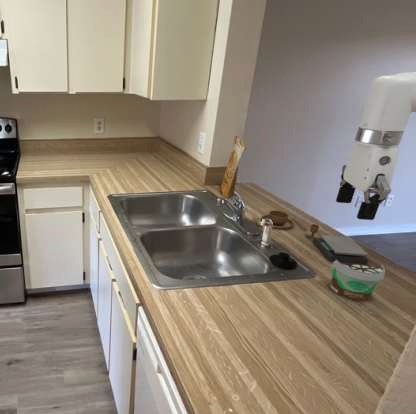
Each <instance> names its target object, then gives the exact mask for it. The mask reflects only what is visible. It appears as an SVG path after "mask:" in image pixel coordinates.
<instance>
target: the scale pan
mask: <svg viewBox="0 0 416 414" xmlns="http://www.w3.org/2000/svg"><path fill="white" fill-rule="evenodd" d="M319 238H321V239H322V240H323V241H324V242H325V243H326V244H327V245H328V246H329V247H330V248H331V250H332V251H333V252H334V253H335V254H343V255H355V256H366V257H367V258H368V257H369V253H368V252H367V251H365V249H363V248H362V247H361V246H360V245H359V244H358V243H357V242H356V241H355V240H354V239H352V238H351V237H350V236H341V235H340V236H339V235H328V234H327V235H326V234H320V235H319Z"/></svg>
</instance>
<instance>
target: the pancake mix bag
mask: <svg viewBox="0 0 416 414" xmlns="http://www.w3.org/2000/svg"><path fill="white" fill-rule="evenodd" d="M246 149H247V144H246V142H245V141H243V139H242V138H241V137H239V136H238V135H235V136H234V142H233V146H232V150H231V153H230V157H229V159H228V162H227V165H226V168H225V171H224V172H225V173H224V175H223V178H222V182H221V185H220V190H221V195H222V197H226V199H229V198H231V197H233V196H234V193H235V189H236V183H237V168H238V165H239V163H240V161H241V158H242V156H243V154H244V153H245V151H246Z"/></svg>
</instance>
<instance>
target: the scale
mask: <svg viewBox="0 0 416 414" xmlns="http://www.w3.org/2000/svg"><path fill="white" fill-rule="evenodd" d="M312 242H313V244H314V245H315V246H316V247H317V249H318V250H319V251H320V253H322V255H323V256H324V257H325V258H326V259H327V261H328V262H331V263H333V262H334V261H335V260H337V261H338V262H340V263H347V264H363V265H367V264H368V262H369V258H368V257H367V256H355V255H343V254H335V253H334V252H333V251H332V250H331V248H330V247H329V246H328V245H327V244H326V243H325V242H324V241H323V240H322V239H321V237H313V241H312ZM367 266H368V265H367Z"/></svg>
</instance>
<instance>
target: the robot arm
mask: <svg viewBox="0 0 416 414" xmlns="http://www.w3.org/2000/svg"><path fill="white" fill-rule="evenodd" d="M412 113H416V71H410V72H409V71H408V72H399V73H396V74H393V75H391V74H390V75H389V74H388V75H381V76H377V77H376V78H375V79H374V80H373V81H372V83H371V87H370V90H369V93H368V95H367V99H366V103H365V106H364V109H363V112H362V115H361V119H360V122H359V125H358V128H357V132H356V135H355V138H354V141H353V142H354V144H353V147H352V149H351V151H350V153H349V156H348V158H347V161H346V164H344V165H342V168H341V169H342V170H341V175H340V179H341V181H340V182H339V189H338V192H337V196H336V199H335V202H336V203H341V204H350V203H352V201H353V198H354V195H355V192H356V189H357V190H359V191H361V192H363V200H364V201H361V203H360V206H359V208H358V212H357V214H356V218H357V219H358V220H364V221H374V220H375V218H376V215H377V213H378V210H379V207H380V205H382V204H383V202H384V201H386V199H387V197H388V196H389V195H390V194H391V193H392V188H391V185H392V181H393V178H394V174H395V170H396V167H397V162H398V159H399V149H400V148H399V146H400V143H401V140H402V137H403V135H404V132H405V129H406V127H407V124H408V121H409V118H410V116H411V114H412ZM371 194H373V195H371Z"/></svg>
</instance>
